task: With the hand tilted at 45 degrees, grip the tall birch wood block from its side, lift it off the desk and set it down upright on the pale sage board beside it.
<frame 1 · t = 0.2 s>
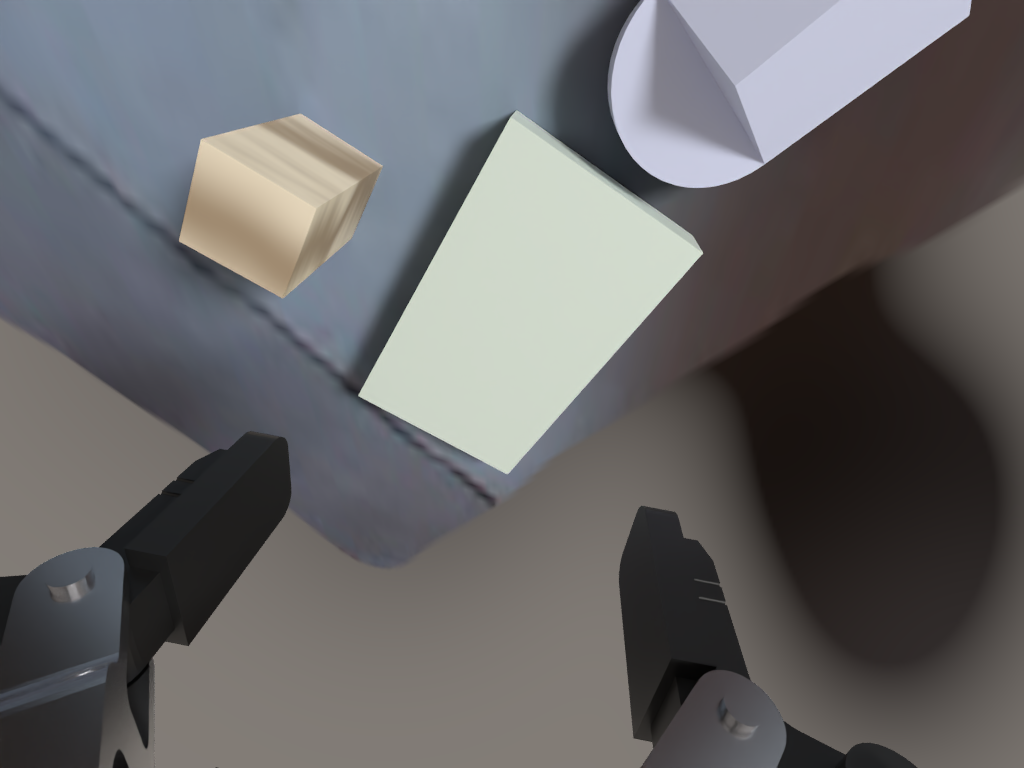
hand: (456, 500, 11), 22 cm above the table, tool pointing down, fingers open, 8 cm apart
birch block: (327, 179, 30), on the table
sage board: (513, 311, 33), on the table
wedge on round base: (736, 44, 24), on the table
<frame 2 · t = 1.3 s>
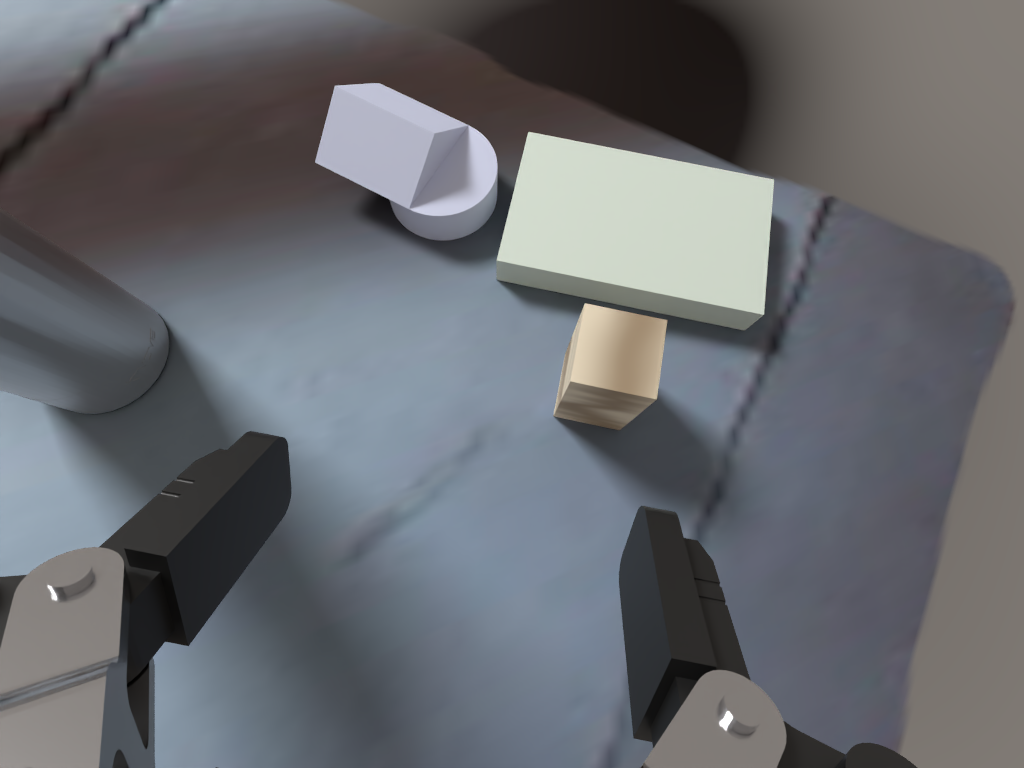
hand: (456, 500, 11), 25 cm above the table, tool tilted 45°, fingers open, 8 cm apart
birch block: (591, 391, 38), on the table
sage board: (630, 240, 42), on the table
wedge on round base: (423, 185, 43), on the table
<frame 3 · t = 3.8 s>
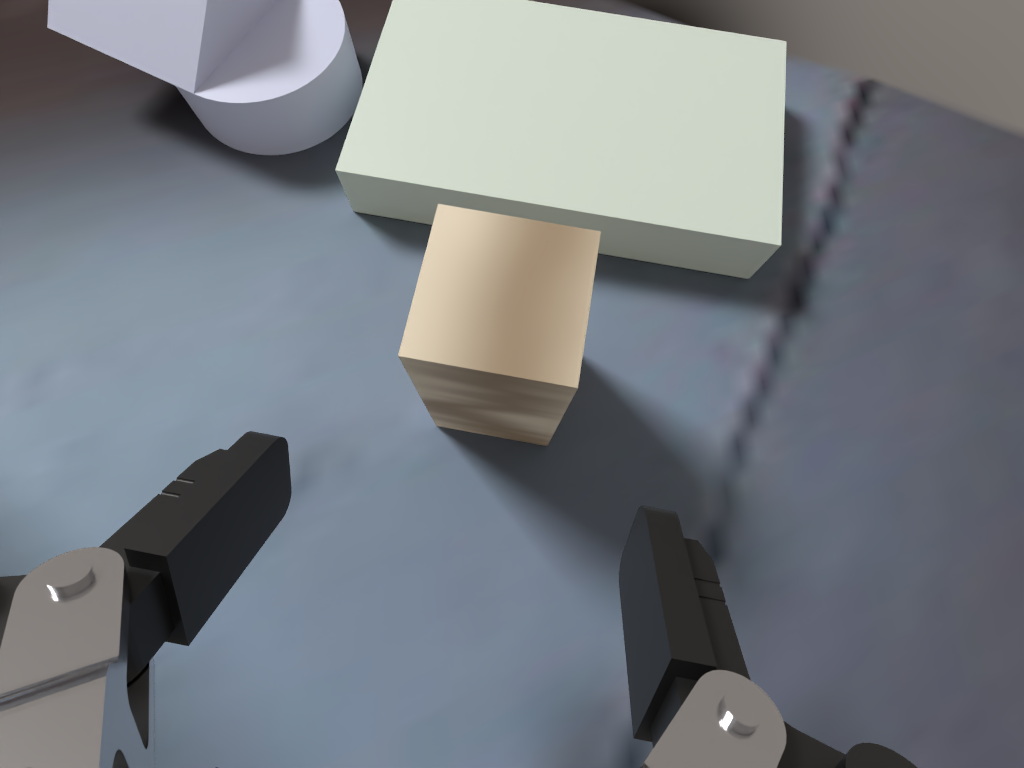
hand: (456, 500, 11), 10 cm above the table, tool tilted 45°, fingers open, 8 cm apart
birch block: (501, 382, 23), on the table
sage board: (566, 148, 27), on the table
wedge on round base: (250, 77, 28), on the table
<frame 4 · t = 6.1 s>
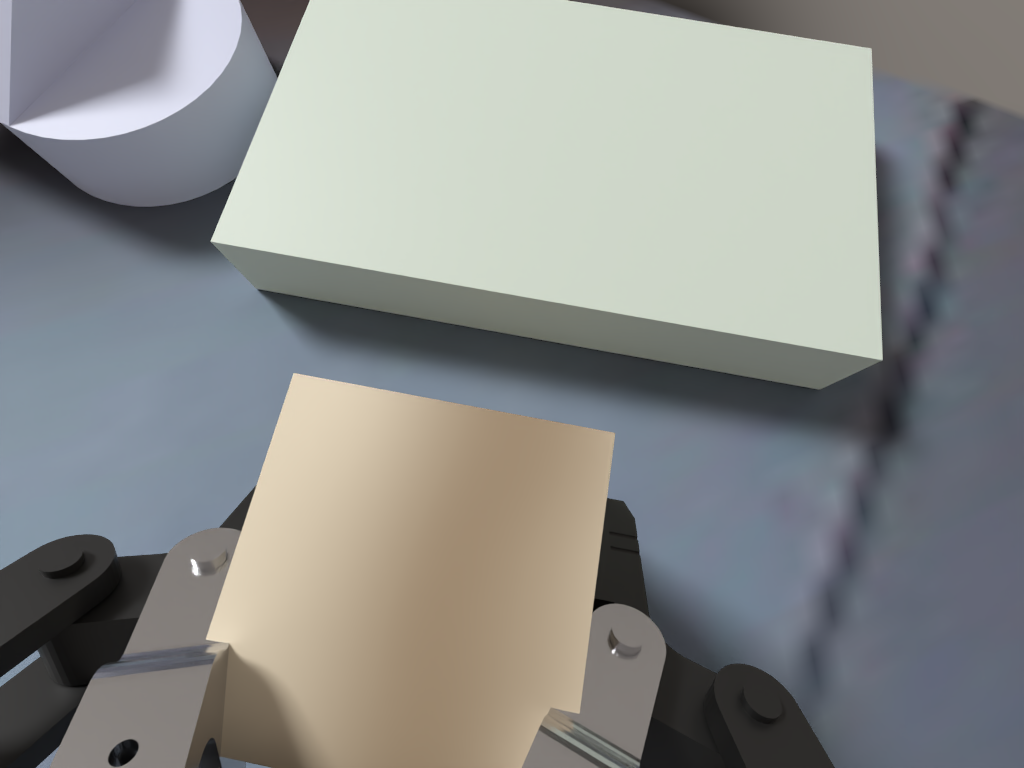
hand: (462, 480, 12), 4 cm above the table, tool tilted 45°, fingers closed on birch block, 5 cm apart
birch block: (460, 555, 16), on the table, touching gripper
sage board: (559, 195, 20), on the table
wedge on round base: (130, 96, 21), on the table
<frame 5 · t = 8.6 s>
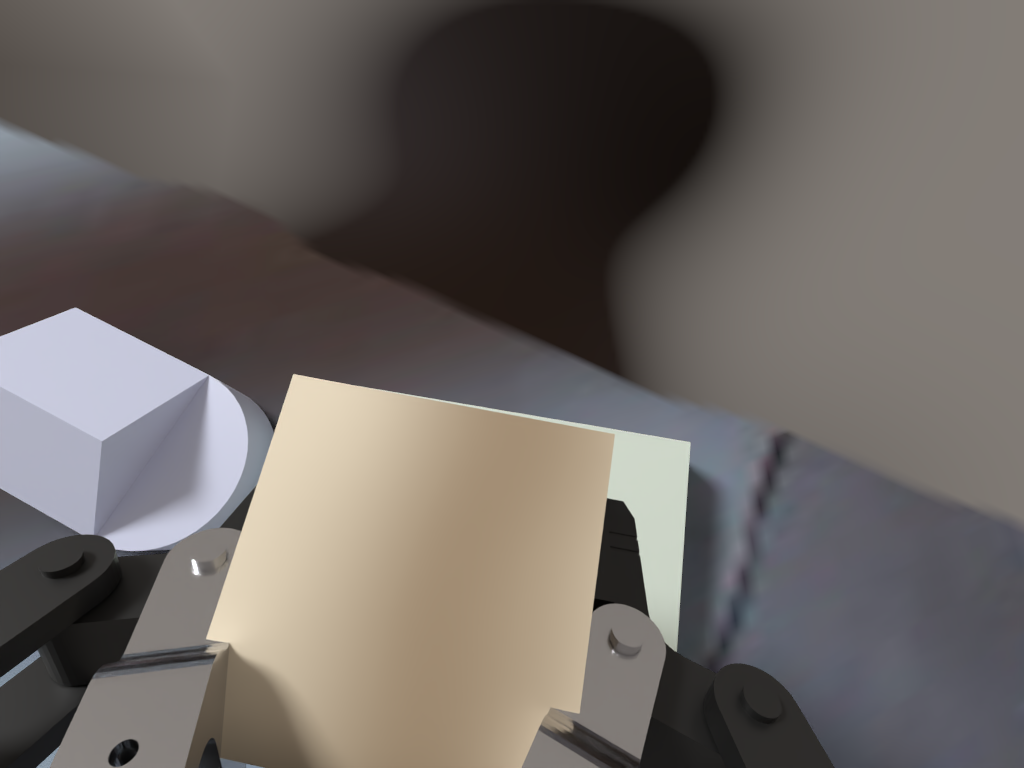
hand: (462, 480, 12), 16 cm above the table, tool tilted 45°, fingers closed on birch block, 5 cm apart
birch block: (460, 556, 16), point 12 cm above the table, touching gripper
sage board: (477, 530, 27), on the table
wedge on round base: (166, 448, 28), on the table
when the fingers open (9 cm above the table, at t = 10.9 s): birch block drops 1 cm, resting on sage board.
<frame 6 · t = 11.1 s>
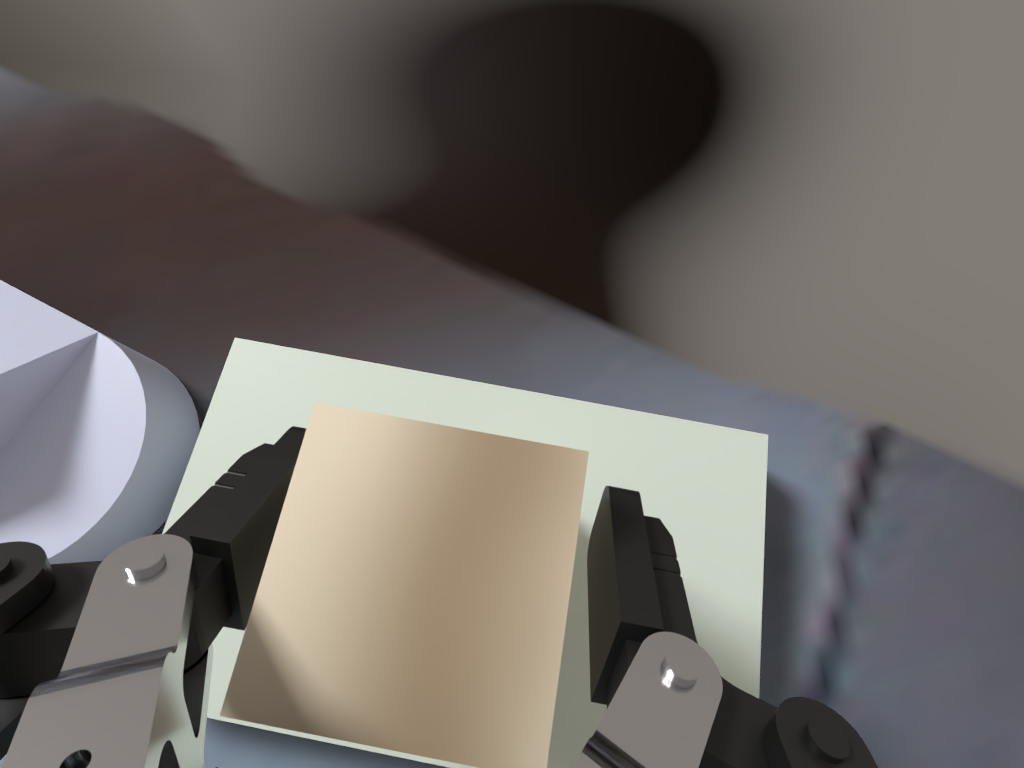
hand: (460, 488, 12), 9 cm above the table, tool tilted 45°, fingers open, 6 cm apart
birch block: (459, 555, 17), point 3 cm above the table, touching sage board
sage board: (468, 552, 20), on the table
wedge on round base: (51, 434, 21), on the table
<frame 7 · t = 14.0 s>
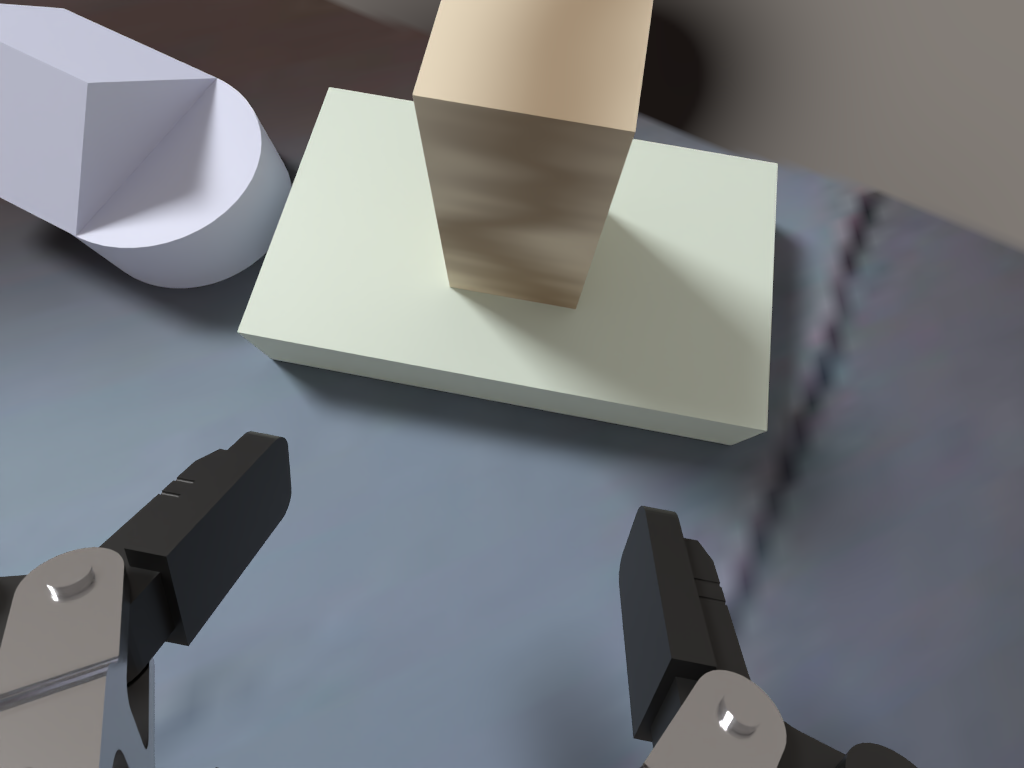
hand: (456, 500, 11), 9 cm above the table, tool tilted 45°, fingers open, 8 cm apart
birch block: (523, 243, 21), point 3 cm above the table, touching sage board
sage board: (523, 278, 23), on the table
wedge on round base: (164, 189, 25), on the table
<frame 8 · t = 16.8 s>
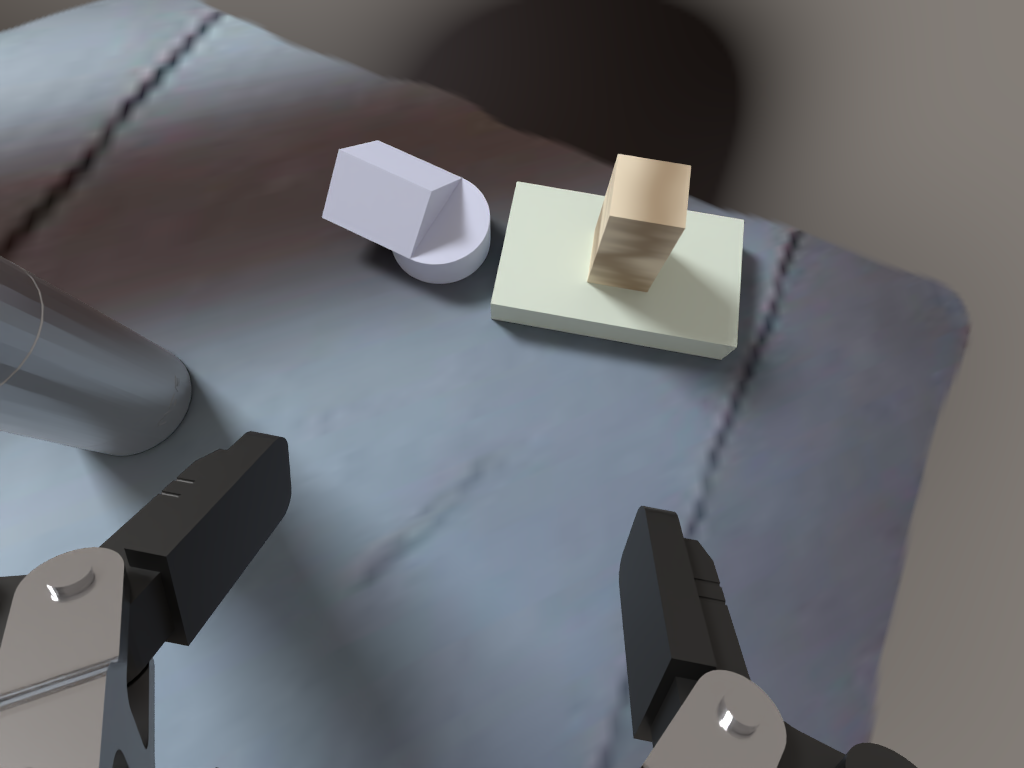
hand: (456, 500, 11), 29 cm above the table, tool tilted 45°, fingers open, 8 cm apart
birch block: (620, 260, 43), point 3 cm above the table, touching sage board
sage board: (613, 277, 45), on the table
wedge on round base: (422, 231, 47), on the table
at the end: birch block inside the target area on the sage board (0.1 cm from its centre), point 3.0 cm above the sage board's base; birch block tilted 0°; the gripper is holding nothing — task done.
